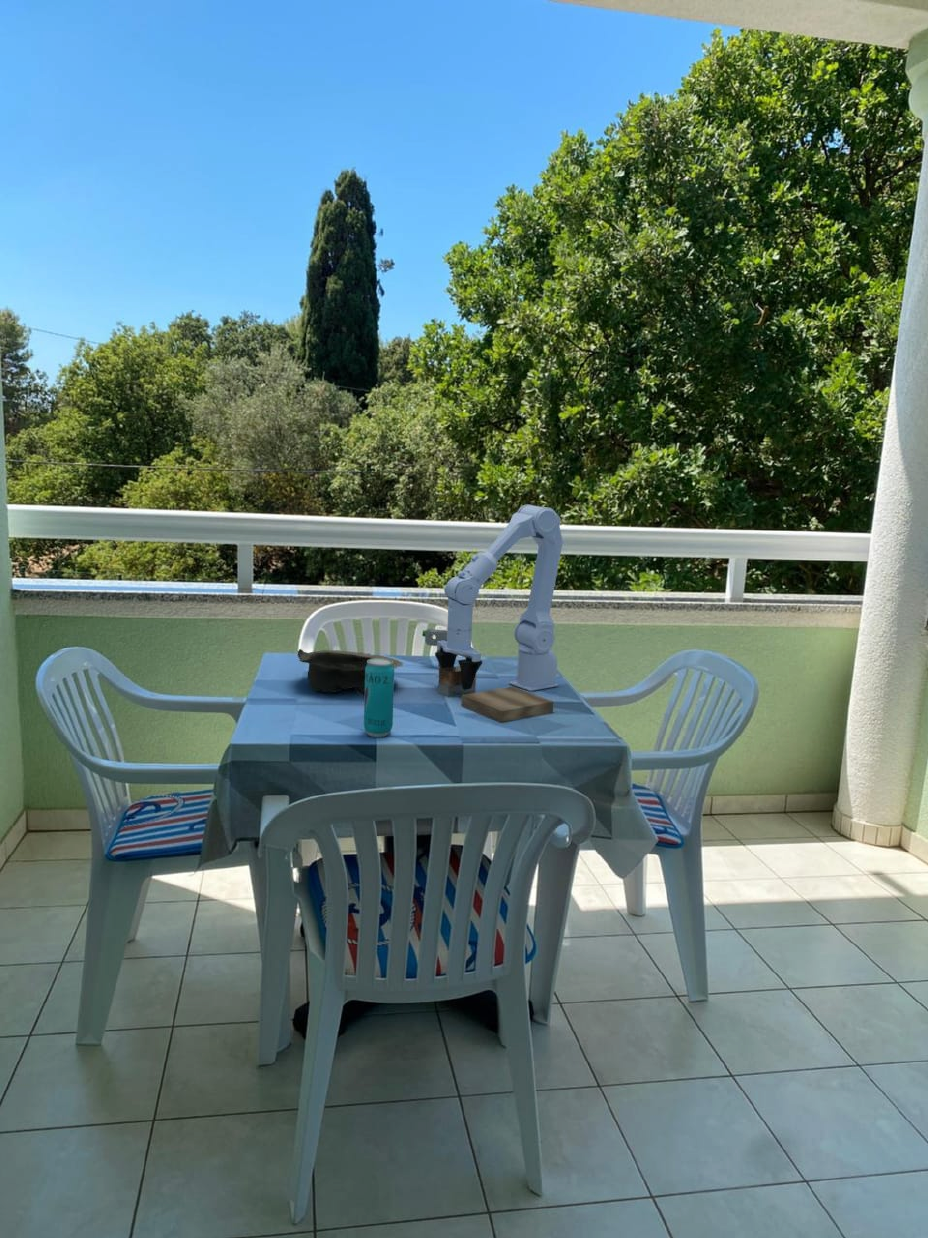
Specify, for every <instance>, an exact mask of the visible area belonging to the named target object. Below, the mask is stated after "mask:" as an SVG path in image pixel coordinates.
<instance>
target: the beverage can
mask: <svg viewBox="0 0 928 1238" xmlns="http://www.w3.org/2000/svg"><path fill="white" fill-rule="evenodd" d="M394 688H395V669H394V667H393V661H392V660H389V659H384V658H374V659H369V660H367V666H366V668H365V694H364V702H363V703H364V707H363V709H364V710H363V727H364V730H365V733H366V734H367V735H368V736H370V737H374V738H383V737H387V736H389V735H390V733H391V730H392V729H393V724H394V718H393V717H394V696H395V695H394V692H395V691H394V690H395V689H394Z"/></svg>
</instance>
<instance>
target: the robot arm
mask: <svg viewBox="0 0 928 1238" xmlns="http://www.w3.org/2000/svg"><path fill="white" fill-rule="evenodd" d="M561 522H562V520H561V517H560V516H559V514H557V512H556V511H555V510H554V509H553V508H551V507H548V506H547V507H544V506H538V505H533V504H531V503H530V504H524V505H522V506H520V508H519V509H518V510H517V512H515V513H514V514H513V515H512V516H511V519H510V521H509V523H508V524H507V525H506V526H505V528H503V530H502V532H501V533H500V534H499V535H498V536H497V538H496V539H495V540H493V542H492V544H491V545H490V546H489V548H488V549H487V550H486V551H484V552H482V551H480V552H478V553H477V554H475V553H474V554H473V555H472V556H471V557H470V559H471V560H470V561H469V563H467V565H466V566H465V567H464V568H463V569H462V570H459V572H458V573H457V575H458V576H455V577H452V578H450V579H449V580H448V582H447V583H446V587H444V589H443V590H444V594H445V595H444V596H446V598H447V600H448V605H447V606H448V607H447V624H446V625H447V626H446V627H447V628H446V629H447V630H446V631H447V641H444V640H443V641H437V646H436V649H439V650H440V651H439V652H437V651H435V653H434V656H435V658H436V660H437V663H438V662H439V665H440V668H448V667H455V664H456V659H457V657H458V656H459V657H462V658H465V659H460V660H459V659H458V666H460V668H461V673H462V688H463V689H464V690H466V689H471V687H472V684H473V681H474V678H475V675H476V676H477V672H478V671H479V669H480V667H481V666H482V665H483V659H482V653H481V652H480V651H477V650H476V649H475V648H474V647H472V634H473V633H472V631H473V613H474V612H473V611H474V610H473V608H474V606H473V605H474V601H476V600H477V599H478V597H479V593H480V589H481V588H482V586H483V585H484V584H485V583H486V582H487V581H488V579H490V577H492V575H493V574H494V573H495V572H496V571H497V570H498V561H500V559H501V558H502V557H503V556H504V555H505V554H506V553H507V552H508V551H509V550H510V549H511V548H512V547H513V546H514V545H515V544H516V543H518V541H520V540H521V539H524V538H530V537H531V538H532V539H533V540H534V542H535V543H536V544H537V545H538V549H537V554H536V560H535V565H534V570H533V571H534V572H533V576H532V582H531V587H530V592H529V598H528V603H527V608H526V610H524V612H523V613H522V614H520V618H519V622H518V624H517V625H516V626H515V628H514V633H513V635H514V639H515V641H516V643H518V646H517V647H518V655H517V657H518V658H517V672H516V673H517V675H516V680H511V681H508V684H510V685H513V686H514V687H517V688H519V689H522V690H525V691H528V692H532V691H537V690H538V691H539V690H543V689H549V688H554V687H555V688H556V687H559V684H558V683H557V672H558V671H557V670H558V658H557V654H556V653H555V652H554V650H553V649H552V647H553V646H554V643H555V633H554V626H555V623H554V620H553V619H552V617H551V614H550V611H551V606H552V602H553V596H554V590H555V585H556V580H557V576H558V569H559V565H560V559H561V554H562V549H563V543H564V541H563V536H562V533H561V531H562V530H561V527H560V524H561Z"/></svg>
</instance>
